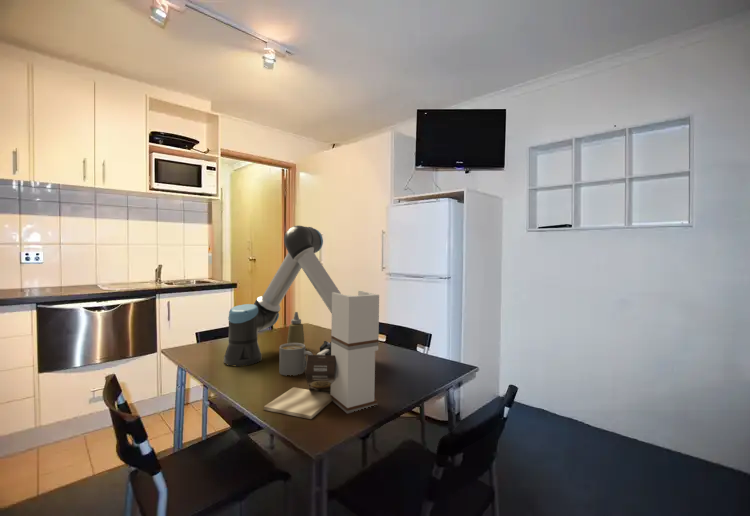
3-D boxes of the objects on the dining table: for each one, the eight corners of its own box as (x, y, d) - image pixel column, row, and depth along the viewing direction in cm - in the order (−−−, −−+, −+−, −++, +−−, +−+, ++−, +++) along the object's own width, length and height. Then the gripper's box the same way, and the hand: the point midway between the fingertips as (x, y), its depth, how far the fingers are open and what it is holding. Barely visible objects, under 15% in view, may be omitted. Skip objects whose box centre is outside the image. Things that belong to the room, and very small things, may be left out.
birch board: (263, 409, 105) (263, 406, 105) (293, 390, 120) (293, 387, 120) (311, 419, 100) (311, 415, 100) (335, 397, 115) (335, 394, 115)
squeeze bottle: (284, 351, 166) (284, 313, 165) (291, 346, 174) (291, 310, 173) (300, 352, 164) (301, 314, 164) (306, 347, 172) (307, 311, 172)
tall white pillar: (377, 406, 109) (379, 294, 109) (347, 414, 104) (349, 296, 103) (358, 393, 119) (360, 290, 118) (330, 400, 113) (332, 292, 112)
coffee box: (309, 392, 118) (304, 374, 106) (311, 373, 122) (306, 354, 110) (336, 392, 119) (334, 374, 106) (337, 374, 123) (335, 354, 110)
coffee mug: (273, 373, 136) (274, 347, 135) (288, 365, 145) (288, 341, 145) (304, 378, 131) (304, 351, 131) (317, 370, 140) (317, 345, 140)
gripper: (360, 352, 141) (335, 371, 119) (331, 348, 145) (301, 366, 123) (361, 333, 141) (336, 349, 119) (331, 330, 145) (302, 345, 123)
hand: (318, 357), depth 121 cm, fingers closed
